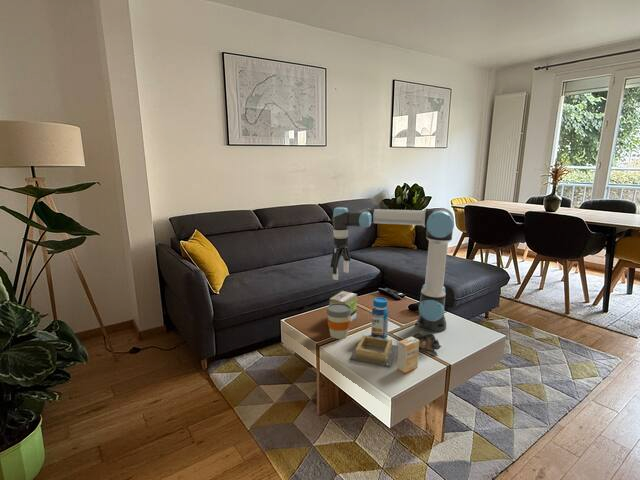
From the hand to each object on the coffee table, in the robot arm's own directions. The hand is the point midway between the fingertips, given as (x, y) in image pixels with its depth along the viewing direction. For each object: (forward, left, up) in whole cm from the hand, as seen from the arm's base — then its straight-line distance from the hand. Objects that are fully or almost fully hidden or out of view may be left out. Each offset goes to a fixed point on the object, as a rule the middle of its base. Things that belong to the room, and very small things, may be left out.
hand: (340, 275), depth 191 cm
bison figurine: (-46, +12, -28) cm, 55 cm away
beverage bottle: (-23, +8, -28) cm, 37 cm away
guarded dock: (-24, +25, -28) cm, 44 cm away
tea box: (0, -4, -28) cm, 28 cm away
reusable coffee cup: (-3, +13, -28) cm, 31 cm away
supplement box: (-40, +32, -28) cm, 59 cm away
